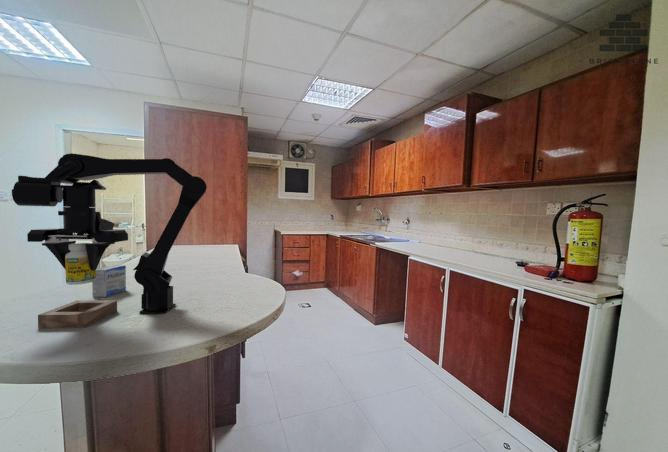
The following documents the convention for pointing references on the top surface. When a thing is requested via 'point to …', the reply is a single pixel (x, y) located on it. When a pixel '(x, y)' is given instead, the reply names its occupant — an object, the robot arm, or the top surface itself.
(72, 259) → the supplement bottle
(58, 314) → the socket block
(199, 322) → the top surface
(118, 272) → the medicine box
